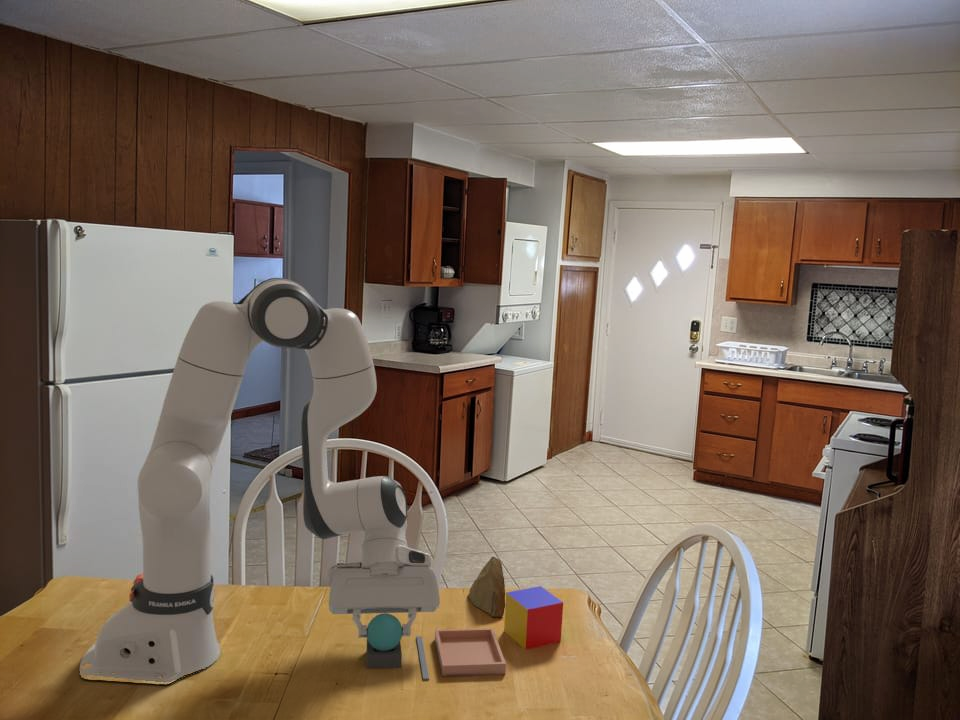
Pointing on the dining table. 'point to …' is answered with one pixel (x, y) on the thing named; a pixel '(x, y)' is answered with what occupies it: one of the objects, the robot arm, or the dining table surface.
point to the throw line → (422, 658)
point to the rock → (489, 589)
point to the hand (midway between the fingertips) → (384, 636)
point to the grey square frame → (383, 657)
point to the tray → (469, 652)
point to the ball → (384, 632)
